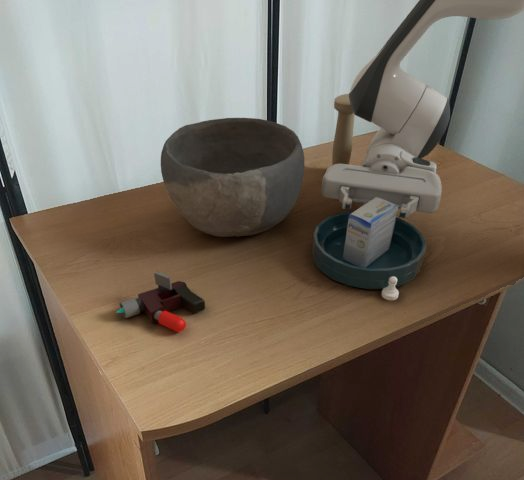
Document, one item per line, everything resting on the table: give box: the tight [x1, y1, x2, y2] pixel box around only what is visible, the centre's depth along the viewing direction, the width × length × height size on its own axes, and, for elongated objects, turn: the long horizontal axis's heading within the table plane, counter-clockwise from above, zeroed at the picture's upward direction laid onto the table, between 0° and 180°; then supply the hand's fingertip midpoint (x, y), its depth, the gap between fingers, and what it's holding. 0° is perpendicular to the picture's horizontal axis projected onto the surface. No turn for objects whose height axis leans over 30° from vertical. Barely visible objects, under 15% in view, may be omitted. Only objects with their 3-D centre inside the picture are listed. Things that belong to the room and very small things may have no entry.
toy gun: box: [115, 271, 206, 333], centre depth 77 cm, size 10×12×5 cm
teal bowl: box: [311, 210, 427, 290], centre depth 89 cm, size 18×18×4 cm
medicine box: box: [343, 197, 399, 268], centre depth 88 cm, size 8×4×9 cm, turn 139°
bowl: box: [160, 117, 305, 238], centre depth 94 cm, size 24×24×15 cm
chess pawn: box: [381, 276, 400, 301], centre depth 82 cm, size 3×3×4 cm
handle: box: [331, 93, 356, 166], centre depth 109 cm, size 5×6×15 cm
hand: (375, 209), depth 88 cm, fingers open, 8 cm apart
